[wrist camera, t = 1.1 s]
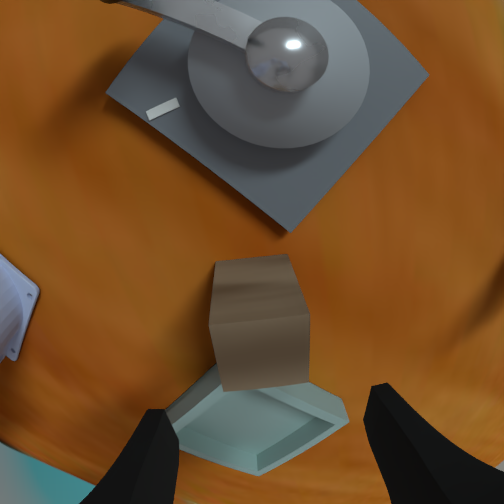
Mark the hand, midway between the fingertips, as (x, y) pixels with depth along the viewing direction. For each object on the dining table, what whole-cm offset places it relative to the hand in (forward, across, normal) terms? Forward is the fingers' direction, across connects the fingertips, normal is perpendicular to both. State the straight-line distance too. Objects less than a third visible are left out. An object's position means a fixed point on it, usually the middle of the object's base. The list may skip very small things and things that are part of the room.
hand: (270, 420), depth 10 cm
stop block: (+9, 0, 0) cm, 9 cm away
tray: (+9, +1, +11) cm, 15 cm away
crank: (+7, +1, -14) cm, 16 cm away
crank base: (+9, -2, -12) cm, 15 cm away
